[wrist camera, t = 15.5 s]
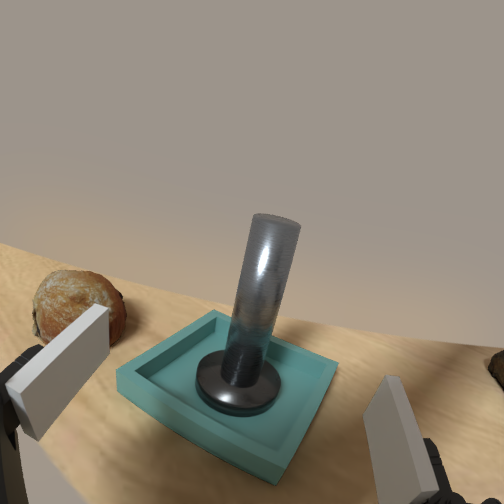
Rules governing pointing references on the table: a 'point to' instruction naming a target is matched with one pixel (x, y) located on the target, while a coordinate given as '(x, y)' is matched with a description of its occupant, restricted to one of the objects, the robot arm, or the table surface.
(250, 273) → the joystick
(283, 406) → the tray
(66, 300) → the bread roll
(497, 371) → the hand tool
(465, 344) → the table surface
